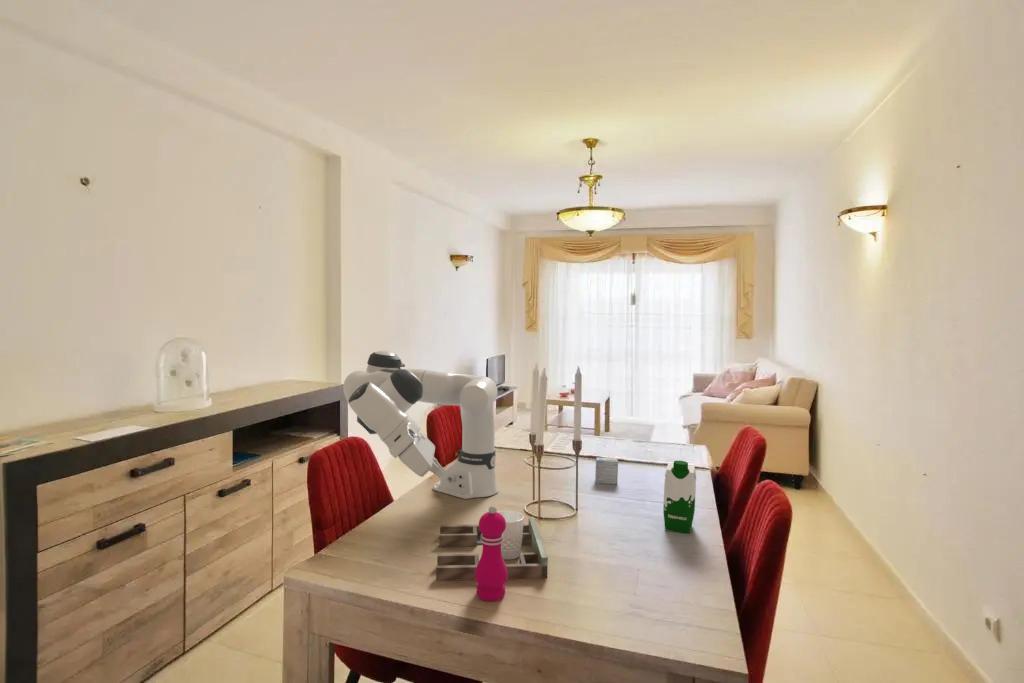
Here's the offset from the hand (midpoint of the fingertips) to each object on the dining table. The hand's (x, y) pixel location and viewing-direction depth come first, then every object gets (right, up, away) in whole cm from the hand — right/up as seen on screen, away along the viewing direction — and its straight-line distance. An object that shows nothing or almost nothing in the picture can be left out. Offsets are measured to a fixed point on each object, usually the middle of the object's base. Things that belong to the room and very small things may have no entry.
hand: (442, 474), depth 140 cm
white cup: (+16, -22, +4) cm, 27 cm away
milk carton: (+66, -22, +24) cm, 74 cm away
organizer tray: (+12, -21, +3) cm, 25 cm away
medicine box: (+52, -19, +64) cm, 85 cm away
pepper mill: (+13, -23, -17) cm, 31 cm away
